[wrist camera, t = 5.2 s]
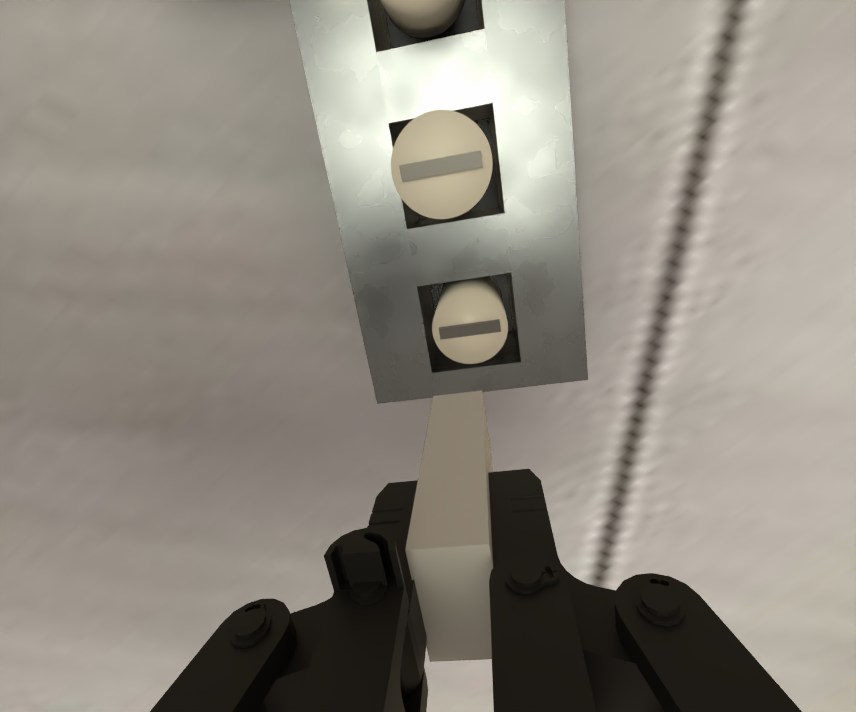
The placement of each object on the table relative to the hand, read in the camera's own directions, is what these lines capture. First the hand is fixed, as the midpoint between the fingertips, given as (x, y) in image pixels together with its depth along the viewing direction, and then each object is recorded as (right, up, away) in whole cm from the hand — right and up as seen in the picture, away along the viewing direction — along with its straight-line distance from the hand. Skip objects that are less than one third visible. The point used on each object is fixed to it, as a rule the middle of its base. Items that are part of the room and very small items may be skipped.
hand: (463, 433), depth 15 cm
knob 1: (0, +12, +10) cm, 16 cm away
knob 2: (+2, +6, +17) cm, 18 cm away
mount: (0, +14, +14) cm, 20 cm away
